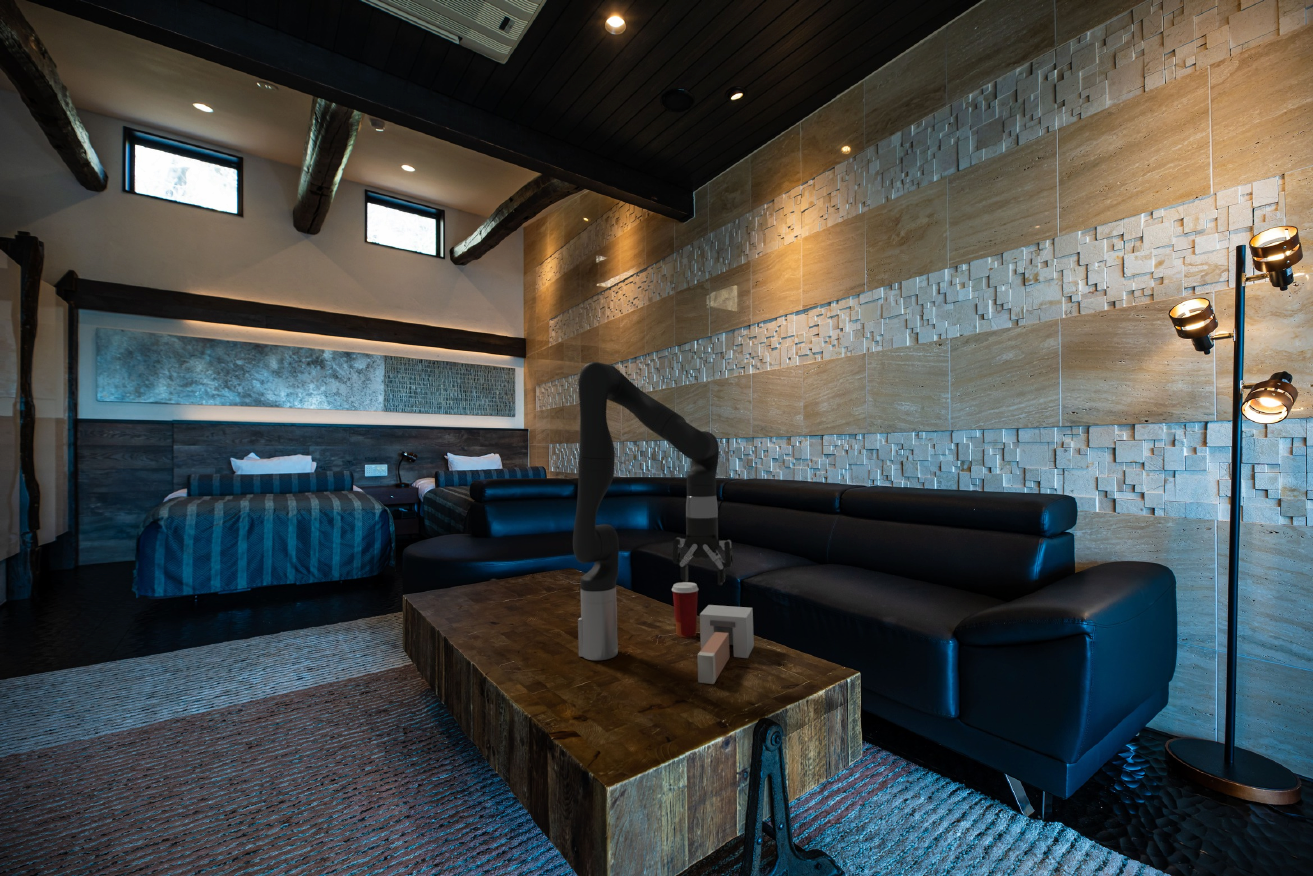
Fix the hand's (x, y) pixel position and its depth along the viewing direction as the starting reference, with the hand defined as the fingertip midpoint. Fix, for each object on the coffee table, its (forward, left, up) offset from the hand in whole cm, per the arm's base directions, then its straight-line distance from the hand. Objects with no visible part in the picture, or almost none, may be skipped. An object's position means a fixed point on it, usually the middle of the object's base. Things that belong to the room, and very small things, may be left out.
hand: (702, 583), depth 129 cm
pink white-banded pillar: (+2, 0, -20) cm, 20 cm away
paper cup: (-12, +24, -21) cm, 34 cm away
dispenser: (+2, +15, -20) cm, 25 cm away
